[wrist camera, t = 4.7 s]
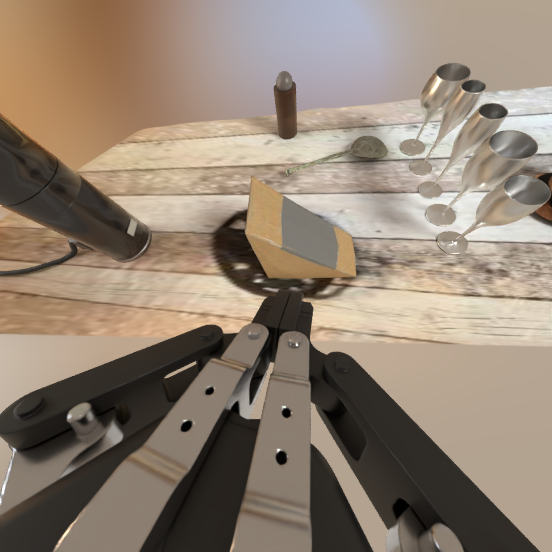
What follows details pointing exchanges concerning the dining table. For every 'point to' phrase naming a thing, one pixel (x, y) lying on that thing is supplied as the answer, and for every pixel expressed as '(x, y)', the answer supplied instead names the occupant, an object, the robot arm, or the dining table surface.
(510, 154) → the goblet set
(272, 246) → the sandwich container
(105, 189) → the dining table surface
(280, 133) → the pepper mill
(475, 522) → the robot arm
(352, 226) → the dining table surface
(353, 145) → the soupspoon
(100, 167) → the dining table surface
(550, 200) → the skull
